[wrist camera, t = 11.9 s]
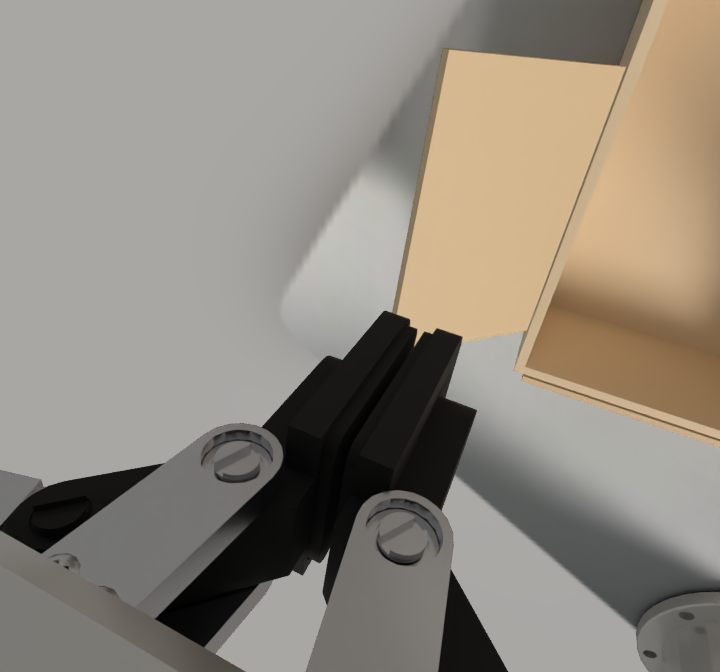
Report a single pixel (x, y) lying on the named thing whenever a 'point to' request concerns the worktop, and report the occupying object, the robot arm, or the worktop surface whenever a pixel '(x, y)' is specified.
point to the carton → (644, 240)
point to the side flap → (497, 187)
